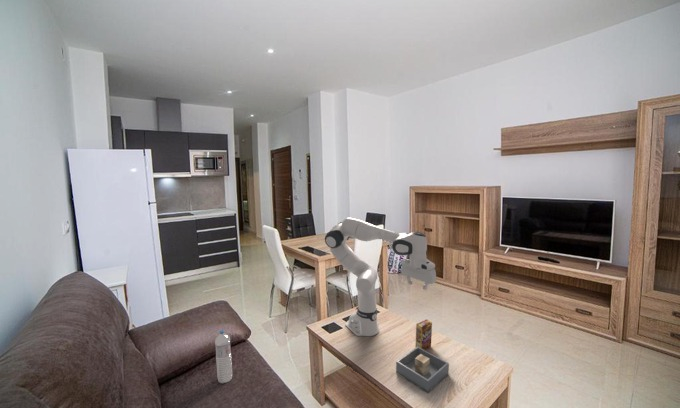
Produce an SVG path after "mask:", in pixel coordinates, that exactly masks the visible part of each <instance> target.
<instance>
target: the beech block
mask: <svg viewBox="0 0 680 408" xmlns="http://www.w3.org/2000/svg"><path fill="white" fill-rule="evenodd" d="M429 365H430V359H429V358H427V357H426V356H424V355H422V354H420V355H419V356H417V357H416V358H415V372H417V373H418V374H420V375H422V376H423V377H424V376H425V375H426V374H427V373H429Z"/></svg>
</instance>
